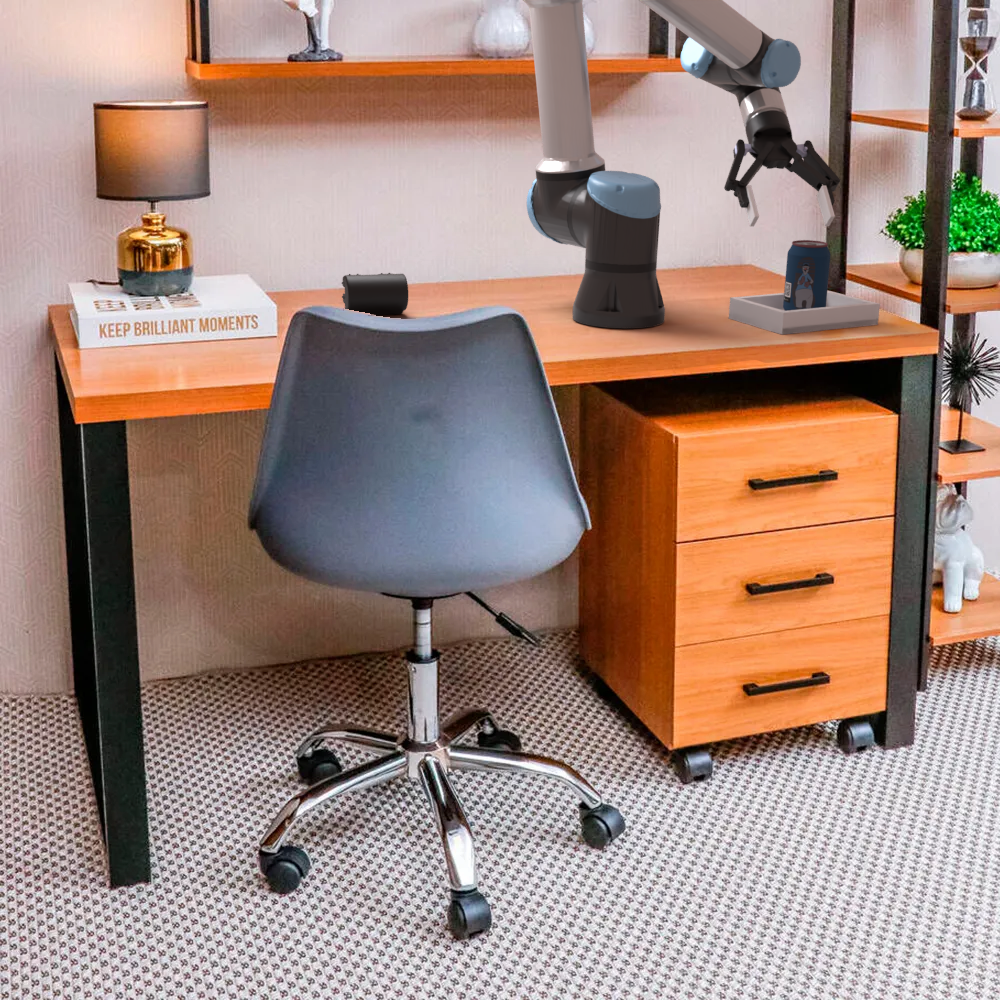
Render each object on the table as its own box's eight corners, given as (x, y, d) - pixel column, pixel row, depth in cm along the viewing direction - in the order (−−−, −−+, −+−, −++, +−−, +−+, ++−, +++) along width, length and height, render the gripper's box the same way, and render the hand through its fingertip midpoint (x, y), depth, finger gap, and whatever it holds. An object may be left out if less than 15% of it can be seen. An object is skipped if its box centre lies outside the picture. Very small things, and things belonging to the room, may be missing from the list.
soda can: (812, 310, 242) (818, 239, 238) (832, 318, 235) (839, 245, 231) (775, 312, 240) (781, 240, 236) (794, 320, 233) (800, 246, 230)
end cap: (348, 320, 232) (348, 278, 230) (340, 312, 238) (339, 271, 236) (408, 317, 235) (408, 276, 233) (398, 309, 241) (398, 269, 239)
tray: (781, 334, 227) (783, 312, 226) (728, 318, 239) (730, 297, 238) (877, 324, 236) (880, 303, 235) (821, 309, 248) (823, 289, 247)
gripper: (824, 137, 256) (852, 234, 247) (692, 136, 250) (715, 235, 241) (840, 108, 249) (869, 207, 240) (704, 106, 244) (729, 207, 235)
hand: (792, 221), depth 241 cm, fingers open, 13 cm apart
